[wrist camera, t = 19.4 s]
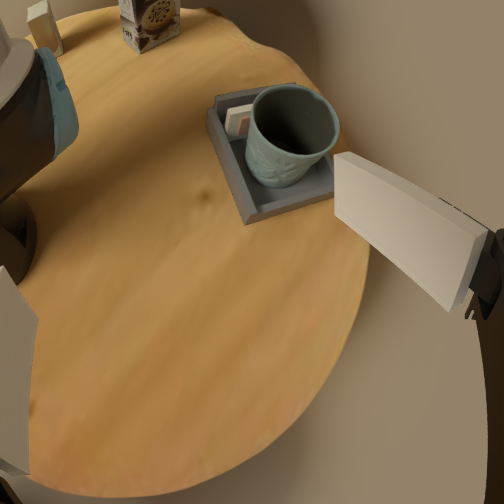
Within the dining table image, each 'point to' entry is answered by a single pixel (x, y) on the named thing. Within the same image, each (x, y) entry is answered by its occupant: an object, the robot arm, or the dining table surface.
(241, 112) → the pusher
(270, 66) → the dining table surface
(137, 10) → the coffee box
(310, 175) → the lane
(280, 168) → the grey-green cup
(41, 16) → the skincare box
